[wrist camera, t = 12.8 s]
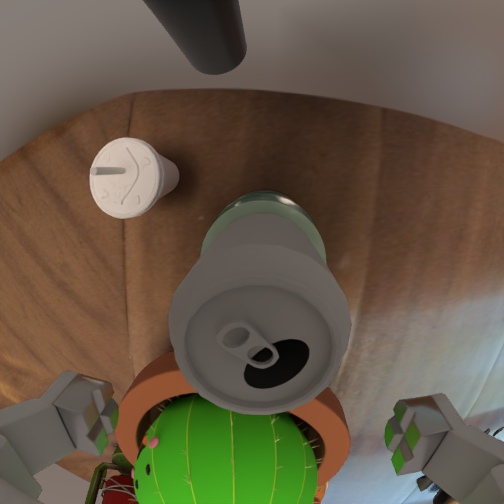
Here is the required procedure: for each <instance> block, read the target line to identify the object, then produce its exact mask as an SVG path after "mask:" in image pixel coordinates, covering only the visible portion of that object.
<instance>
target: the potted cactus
mask: <svg viewBox="0 0 504 504" xmlns="http://www.w3.org/2000/svg"><path fill="white" fill-rule="evenodd" d="M118 409H119V419H118V424H117V426H116V428H115V435H116V439H117V442H118V445H119V447H120V449H121V451H122V452H123V454H124V455H125V457H126V458H127V459H128V461H129V462H130V463H131V464H132V465H133V466H134V468H132V472H131V475H132V478H133V479H134V489H135V494H136V497H137V500H136V501H138V503H139V504H313V503H316V502H314V497H317V496H315V494H316V490H317V489H318V488H319V489H320V487H321V486H323V485H324V484H325V483H327V482H328V481H329V480H330V479H331V478H332V477H333V476H334V475H335V474H336V473H337V472H338V471H339V470H340V468H341V467H342V466H343V464H344V462H345V461H346V459H347V456H348V454H349V450H350V434H349V430H348V426H347V423H346V419H345V415H344V412H343V409H342V406H341V404H340V402H339V400H338V399H337V397H336V396H335V394H334V393H333V392H332V391H331V390H330V389H329V388H328V387H326V388H325V389H324V390H323V391H322V392H321V393H320V394H318V395H317V396H316V397H315V398H314V399H313V400H311V401H310V402H308V403H305V404H303V405H301V406H299V407H297V408H295V409H293V410H291V411H286V412H281V413H276V414H271V415H251V414H241V413H238V412H234V411H231V410H227V409H224V408H221V407H219V406H217V405H215V404H214V403H212V402H210V401H209V400H207V399H205V398H204V397H202V396H200V395H199V394H198V393H197V391H196V390H195V389H194V388H193V387H192V386H191V385H190V384H189V383H188V382H187V381H186V380H185V379H184V377H183V375H182V373H181V370H180V368H179V366H178V364H177V362H176V360H175V354H174V351H172V352H169V353H167V354H165V355H163V356H161V357H159V358H157V359H156V360H154V361H153V362H151V363H150V364H149V365H147V366H146V367H145V368H144V369H143V370H142V371H141V372H140V373H139V374H138V376H137V377H136V379H135V380H134V381H133V383H132V385H131V386H130V388H129V389H128V391H127V393H126V394H125V396H124V398H123V399H122V401H121V403H120V405H119V407H118ZM321 491H322V490H321ZM129 500H130V499H129ZM134 502H135V501H134Z"/></svg>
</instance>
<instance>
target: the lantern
mask: <svg viewBox="0 0 504 504" xmlns="http://www.w3.org/2000/svg"><path fill="white" fill-rule="evenodd" d="M132 468H134V466H133V465H132V464H131V463H130V462H129V461H128V459H127V458H126V457H125V455H124V454H123V452H122V451H121V449H120V447H119V445H118V446H117V448H116V450H115V452H114V454H113V456H112V463H105V462H102V463H101V464H100V465H99V466H98V467H96V468H95V471H94V474H93V477H92V480H91V484H90V487H89V491H88V494H87V497H86V501H85V504H95V502H96V498H97V494H98V490H99V489H102V487H103V484H104V482H105V483H106V487H105V489H103V490H102V493H101V496H102V497H103V501H102V504H139V503H138V501H136V500H137V497H136V494H135V489H134V479H133V478H132V475H131V472H132ZM107 469H113V470H118V471H119V472H120V473H121V475H119V476H112V477H111V478H105V477H106V474H107V471H106V470H107ZM102 477H103V478H102ZM105 479H109V480H108V481H107V482H106V481H105ZM102 480H103V481H102ZM101 481H102V483H101ZM103 493H104V496H103ZM129 499H130V500H129ZM134 501H135V502H134Z"/></svg>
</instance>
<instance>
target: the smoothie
mask: <svg viewBox="0 0 504 504" xmlns="http://www.w3.org/2000/svg"><path fill="white" fill-rule="evenodd" d="M178 182H179V171H178V168H177V166H176V165H175V164H174V163H173V162H171V161H170V160H168V159H166V158H165V157H163V156H161V155H160V154H158V153H157V152H156V151H155V150H154V148H153V147H152V146H151V145H149V144H148V143H146V142H144V141H143V140H139V139H135V138H120V139H116V140H114V141H112V142H110V143H108V144H107V145H106V146H104V147H103V148H102V149H101V150H100V152H99V153H98V154H97V156H96V158H95V159H94V162H93V164H92V167H91V169H90V189H91V193H92V196H93V198H94V200H95V202H96V203H97V205H98V206H99V207H100V208H101V209H102V210H103V211H104V212H105V213H107V214H108V215H110V216H113V217H116V218H132V217H136V216H140V215H141V214H143V213H145V212H146V211H148V210H149V209H150V208H151V207H152V206H153V205H154V204H155V203H156V201H157V200H158V199H160V198H161V197H163V196H164V195H166V194H168V193H169V192H171V191H172V190H174V189H175V187H176V186H177V184H178Z"/></svg>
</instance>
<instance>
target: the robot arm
mask: <svg viewBox="0 0 504 504" xmlns="http://www.w3.org/2000/svg"><path fill="white" fill-rule="evenodd" d="M113 393H114V391H113V388H112V384H111V383H109V382H107V381H104V380H100V379H97V378H93V377H90V376H86V375H83V374H79V373H75V372H72V371H69V370H66V371H63V373H62V374H61V375H60V376H59V377H58V378H57V379H56V380H55V381H54V382H53V383H52V384H51V386H50V387H49V388H48V389H47V390H46V391H45V392H44V393H43V394H42V396H41V397H40V398H39V399H36V398H33V399H30V400H27V401H24V402H21V403H18V404H15V405H12V406H9V407H6V408H3V409H0V504H44V503H42V502H40V501H39V500H37V498H38V497H39V495H40V493H41V492H42V488H41V486H40V484H39V483H38V482H37V481H36V479H35V478H34V477H33V475H35V474H36V473H38V472H40V471H42V470H43V469H45V468H47V467H49V466H50V465H52V464H54V463H55V462H57V461H59V460H61V459H62V458H64V457H66V456H67V455H69V454H71V453H72V452H74V451H75V450H76V449H78V450H81V451H84V452H87V453H90V454H93V455H96V456H99V457H100V456H101V454H102V453H103V451H104V449H105V447H106V445H107V443H108V439H107V435H108V434H110V433H112V432H114V430H115V428H116V426H117V424H118V419H119V409H118V405H117V403H116V402H115V401H114V400H113V398H112V397H111V396H112V395H113ZM393 410H394V413H395V415H394V416H393V417H392V418H391V419H390V420H388V423H387V425H386V428H385V443H386V446H387V449H388V450H390V451H391V452H393V453H394V455H393V457H392V459H391V460H392V463H393V466H394V468H395V471H396V474H397V476H398V475H404V474H409V473H414V472H419V471H422V473H423V474H425V475H426V476H427V477H428V478H429V479H430V480H432V481H433V482H434V483H435V484H437V485H438V486H439V487H440V488H441V489H443V490H444V491H445V492H446V493H447V494H449V495H450V496H451V497H452V498H454V499H455V500H456V501H457V502H459V504H504V442H502V441H500V440H498V439H496V438H494V437H492V436H490V435H488V434H486V433H484V432H482V431H481V430H479V429H477V428H475V427H473V426H471V425H468V426H466V425H465V423H464V422H463V420H462V419H461V417H460V416H459V414H458V413H457V411H456V410H455V408H454V407H453V405H452V404H451V402H450V401H449V399H448V398H447V396H446V395H445V394H443V393H439V394H434V395H428V396H423V397H416V398H409V399H402V400H399V401H398V402H397V403H396V405H395V407H394V409H393Z"/></svg>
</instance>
